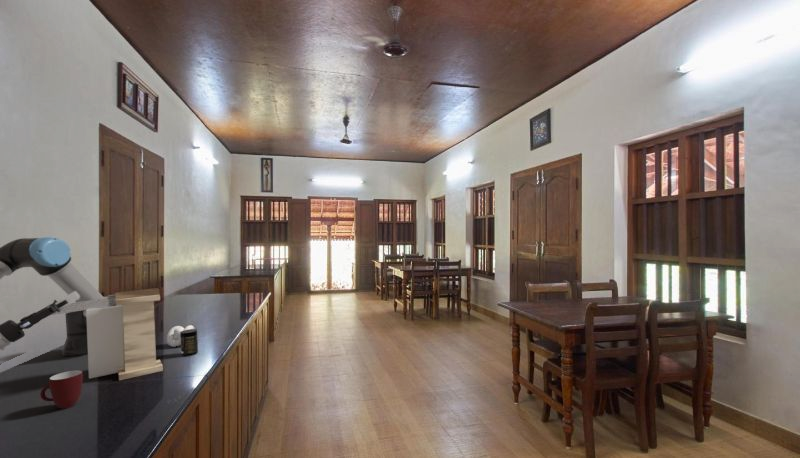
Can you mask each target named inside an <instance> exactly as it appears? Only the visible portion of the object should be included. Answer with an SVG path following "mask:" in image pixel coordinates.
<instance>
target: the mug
mask: <svg viewBox="0 0 800 458" xmlns="http://www.w3.org/2000/svg"><path fill="white" fill-rule="evenodd" d="M83 373H84V372H83V370H77V369H75V370H69V371H64V372H60V373H57V374H55V375H52V376H51V377H49V378H48V380H49V381H48V385H45V386H44V387H43V388H42V389H41V391H40V394H39V395H40V398H41V399H42V401H45V402H53V404H54V405H56V406H57V408H58V409H59V408H60V410H65V409H69V408H72V407H73V406H75V405H76V404H77V402H78V401H79V399H80V397H81V394H82V388H83V387H82V386H83V380H84V375H83ZM47 390H49V391H50V394H51V397H48V396H47V395H46V391H47ZM64 408H65V409H64Z"/></svg>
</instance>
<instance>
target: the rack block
mask: <svg viewBox="0 0 800 458" xmlns="http://www.w3.org/2000/svg"><path fill="white" fill-rule="evenodd" d="M86 318H87V343H88V353H87V365H88V366H87V367H88V368H87V369H88V379H93V378H94V379H95V378H98V377H103V376H108V375H112V374H118V368H121V367H124V341H123V323H122V305H118V306H116V305H114V306H107V307H101V308H94V309H88V310H86Z"/></svg>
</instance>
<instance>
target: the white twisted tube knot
mask: <svg viewBox="0 0 800 458" xmlns="http://www.w3.org/2000/svg"><path fill="white" fill-rule="evenodd" d="M189 329H195V327H194V325H191V324H190V325H187V326H185V328H184V327H183V326H181V325H176V326H173V327H171V328H170V330H168V332H167V334H166V342H167V345H168V346H170V347H172V348H177V347H179V346H181V336H180V332H181V331H184V330H189ZM176 346H177V347H176Z"/></svg>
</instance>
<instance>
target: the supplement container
mask: <svg viewBox="0 0 800 458" xmlns="http://www.w3.org/2000/svg"><path fill="white" fill-rule="evenodd" d="M180 336H181V345H180V354H181V356H182V357H191V356H196V355H197V354H198V352H199V346H198V343H199V342H198V341H199V340H198V329H197V328H194V329H189V330H184V331H181V332H180Z"/></svg>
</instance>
